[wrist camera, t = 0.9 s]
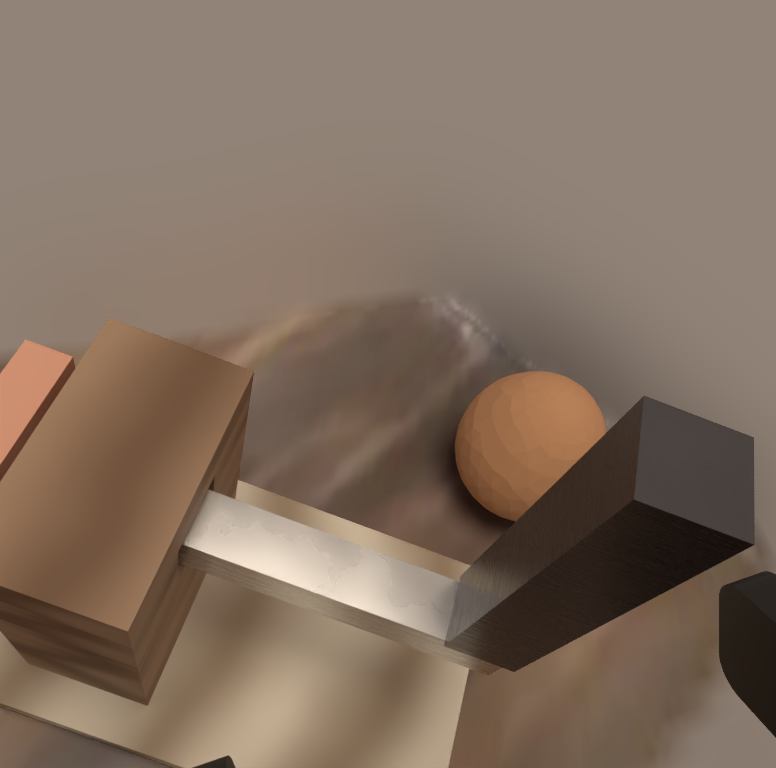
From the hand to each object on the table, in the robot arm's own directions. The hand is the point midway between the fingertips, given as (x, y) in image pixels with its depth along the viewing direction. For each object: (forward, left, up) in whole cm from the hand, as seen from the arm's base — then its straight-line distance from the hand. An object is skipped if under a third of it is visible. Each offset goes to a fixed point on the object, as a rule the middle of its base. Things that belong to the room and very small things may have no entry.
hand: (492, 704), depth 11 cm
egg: (+5, +17, -23) cm, 30 cm away
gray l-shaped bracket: (-5, +5, -14) cm, 16 cm away
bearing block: (-6, +5, -23) cm, 24 cm away
